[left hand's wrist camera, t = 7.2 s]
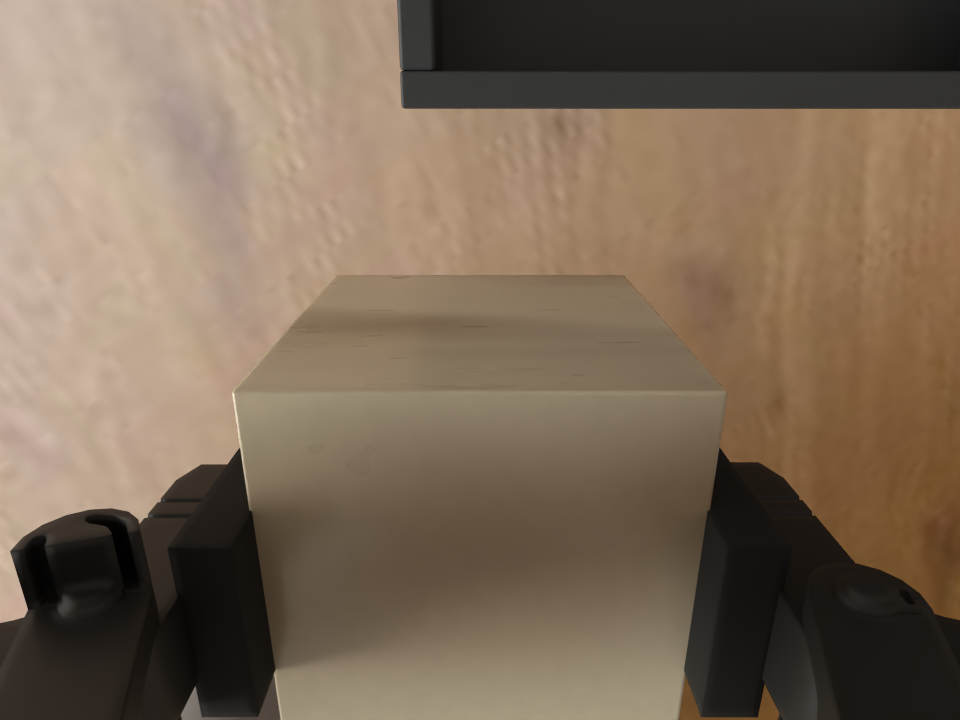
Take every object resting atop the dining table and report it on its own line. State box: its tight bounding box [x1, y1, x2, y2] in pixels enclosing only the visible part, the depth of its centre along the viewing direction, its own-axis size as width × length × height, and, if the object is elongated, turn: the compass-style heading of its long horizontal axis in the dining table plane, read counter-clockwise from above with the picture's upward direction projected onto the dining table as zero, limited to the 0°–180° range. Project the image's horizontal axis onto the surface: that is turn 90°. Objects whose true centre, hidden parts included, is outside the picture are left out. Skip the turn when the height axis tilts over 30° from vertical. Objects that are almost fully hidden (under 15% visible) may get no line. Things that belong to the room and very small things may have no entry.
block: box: [232, 275, 727, 720], centre depth 12 cm, size 6×6×6 cm
